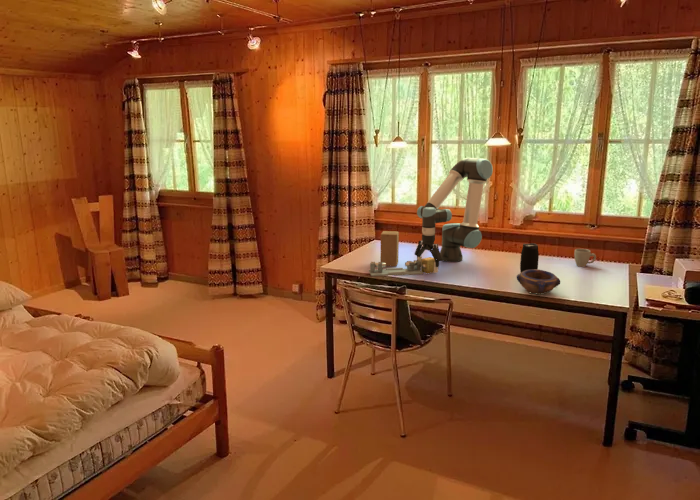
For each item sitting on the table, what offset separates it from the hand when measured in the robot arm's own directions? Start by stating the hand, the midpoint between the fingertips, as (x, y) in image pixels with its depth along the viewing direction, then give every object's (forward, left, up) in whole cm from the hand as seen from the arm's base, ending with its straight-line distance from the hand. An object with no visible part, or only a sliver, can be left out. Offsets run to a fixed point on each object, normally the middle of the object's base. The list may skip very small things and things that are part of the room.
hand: (427, 269), depth 305 cm
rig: (+19, 0, -1) cm, 19 cm away
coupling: (-1, 0, -1) cm, 1 cm away
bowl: (-46, +45, -2) cm, 64 cm away
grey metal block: (+9, -1, -1) cm, 9 cm away
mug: (-97, 0, -1) cm, 97 cm away
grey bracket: (+29, -1, -1) cm, 29 cm away
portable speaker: (-52, +21, -1) cm, 56 cm away
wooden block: (+19, -20, -2) cm, 28 cm away
